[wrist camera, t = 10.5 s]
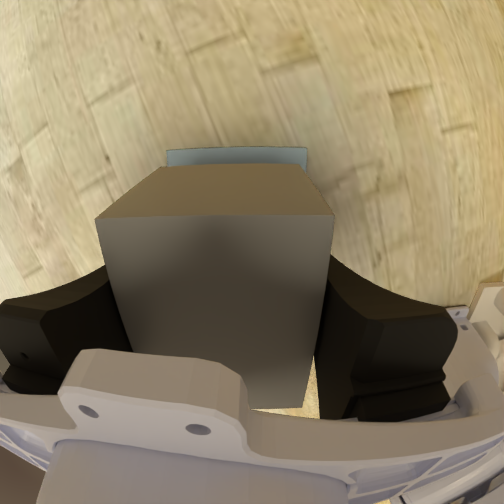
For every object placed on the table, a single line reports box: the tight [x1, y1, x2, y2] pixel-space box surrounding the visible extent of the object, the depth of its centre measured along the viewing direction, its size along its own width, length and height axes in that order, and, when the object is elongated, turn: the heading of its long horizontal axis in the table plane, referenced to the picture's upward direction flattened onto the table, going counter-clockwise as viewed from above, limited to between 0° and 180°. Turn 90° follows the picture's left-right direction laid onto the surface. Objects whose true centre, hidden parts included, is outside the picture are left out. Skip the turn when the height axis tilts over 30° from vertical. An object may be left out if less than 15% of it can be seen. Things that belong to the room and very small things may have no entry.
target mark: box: [166, 147, 307, 173], centre depth 18 cm, size 8×8×1 cm
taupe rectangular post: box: [95, 163, 335, 409], centre depth 11 cm, size 8×6×6 cm
